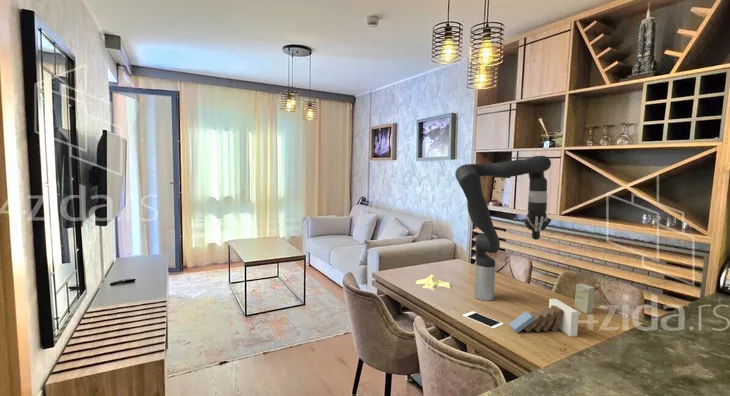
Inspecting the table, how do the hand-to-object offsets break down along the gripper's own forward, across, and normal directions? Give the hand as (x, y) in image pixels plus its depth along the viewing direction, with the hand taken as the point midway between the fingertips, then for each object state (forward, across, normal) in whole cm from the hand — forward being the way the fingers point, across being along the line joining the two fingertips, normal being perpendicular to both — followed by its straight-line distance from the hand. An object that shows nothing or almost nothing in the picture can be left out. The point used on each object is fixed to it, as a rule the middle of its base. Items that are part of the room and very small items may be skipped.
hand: (535, 239), depth 156 cm
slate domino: (+34, -17, -15) cm, 41 cm away
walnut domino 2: (+34, -9, -15) cm, 38 cm away
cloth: (+36, -34, +45) cm, 67 cm away
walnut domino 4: (+34, -1, -15) cm, 37 cm away
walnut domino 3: (+34, -5, -15) cm, 38 cm away
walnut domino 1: (+34, -13, -15) cm, 39 cm away
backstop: (+35, +4, -15) cm, 38 cm away
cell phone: (+35, -26, -4) cm, 44 cm away
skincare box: (+35, +26, +1) cm, 44 cm away
